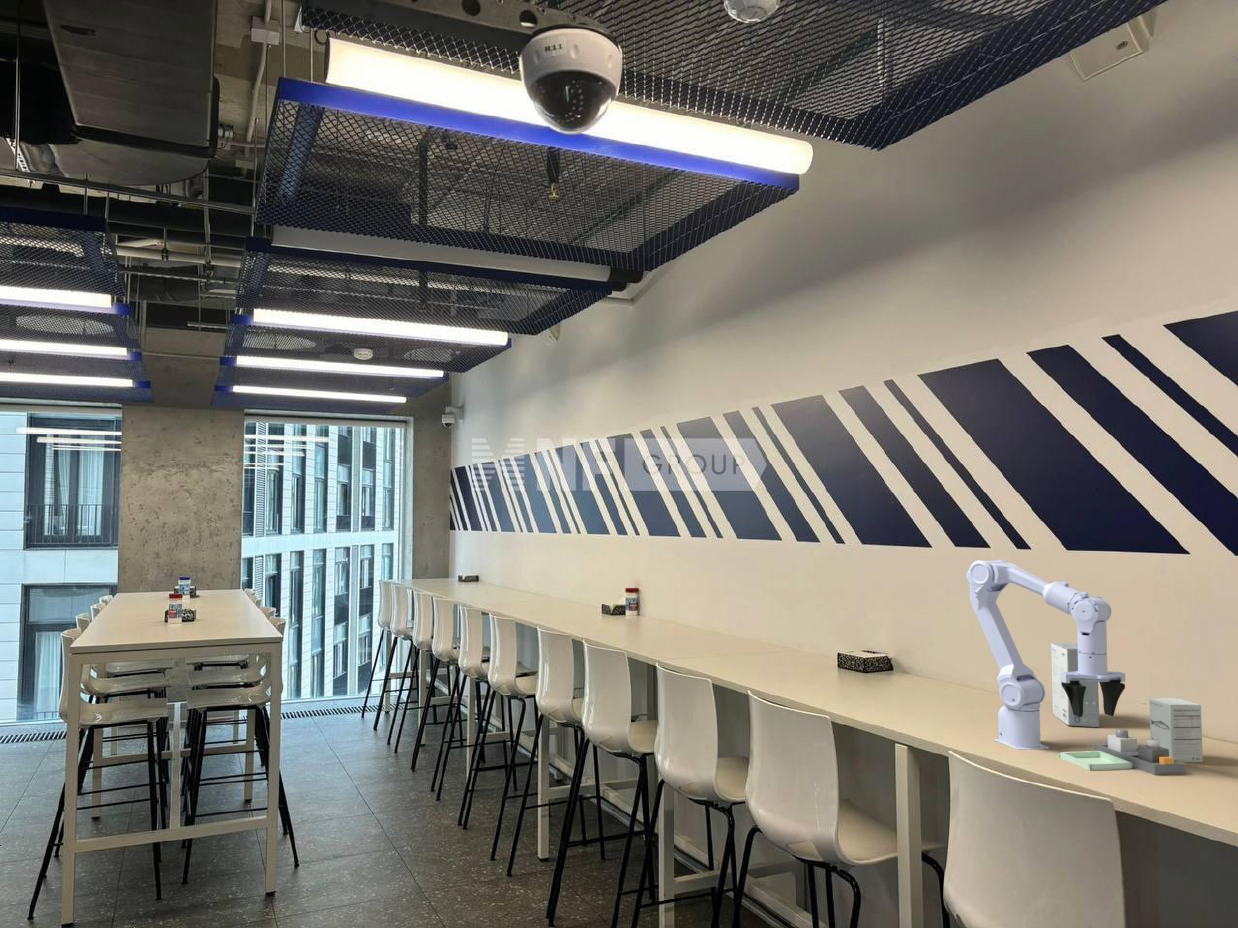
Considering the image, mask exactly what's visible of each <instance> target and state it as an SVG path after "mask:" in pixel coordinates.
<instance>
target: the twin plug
mask: <svg viewBox="0 0 1238 928" xmlns="http://www.w3.org/2000/svg"><path fill="white" fill-rule="evenodd" d="M1107 743H1108V748H1110V749H1113V750H1116V751H1119V752H1133V751H1137V748H1138V739H1137V738H1136V737H1133V736H1129V730H1128V729H1125V728H1116V729H1115V734H1108V735H1107Z"/></svg>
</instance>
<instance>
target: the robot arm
mask: <svg viewBox="0 0 1238 928" xmlns="http://www.w3.org/2000/svg"><path fill="white" fill-rule="evenodd" d="M965 576H966V580H967V581H968V584H969V601H970V602H969V603H970V604H971V607H972V609H973V611H974V613H975V616H976V618H977V620H978V623H979V625H980V627H981V629H982V631H983V634H984V636H985V639H986V641H987V643H988V647H989V648H990V650H991V652H992V655H993V657H994V660H995V661H996V664H997V666H998V669H999V672H998V675H997V677H996V682H997V684H998V687H999V688H998V689H999V690H998V691H999V692H998V693H999V697H1000V700H1001V701H1002V703H1003V704H1004V705H1003V706H1001V707H1000V709H999V710H998V713H997V726H998V729H997V730H998V738H995V739H994V741H995V742H997V743H1001V744H1003V745H1007V746H1009V747H1010V748H1012V749H1013V748H1014V749H1016V750H1019V751H1020V750H1042V749H1043V750H1045V749H1047V750H1048V749H1050V748H1049V747H1048V746H1046V745H1044V744H1042V743H1041V713H1040V710H1041V709H1040V708H1041V703H1042V702H1043V701H1044V700H1045V697H1046V689H1045V686H1044V684H1043V683H1042V682H1041V680H1039V679H1038V678H1037V677H1036V675H1035V673H1034V670H1032V668H1030V667H1028V666H1027V665H1026V664H1025V663H1024V662H1023V659H1022V656H1020V654H1019V653H1020V652H1019V650H1018V649H1017V647H1016V644H1015V641H1014V639H1013V637H1012V635H1011V633H1010V631H1009V629H1008V627H1007V624H1006V622H1005V620H1004V617H1003V615H1002V612H1001V610H1000V608H999V605H998V603H997V600H998V598H999V596H1000V594H1001V593H1002V591H1004V589H1005V588H1007V586H1008V585H1009V584H1013V585H1016V586H1019V587H1021V588H1023V589H1026V590H1028V591H1030V592H1033V593H1035V594H1037V595H1040V596H1042V597H1043V599H1044V602H1045V603H1046V604H1047V605H1048V606H1051V607H1053V608H1055V609H1057V610H1059V611H1061V612H1063V613H1064V614H1067V615H1070V616H1071V617H1072V619H1073V620H1074V621H1075V623H1076V631H1077V633H1076V634H1077V635H1076V636H1077V640H1076V641H1077V643H1078V671H1074V672H1066V673H1060V682H1061V685H1062V687H1063V688H1064V690H1065V692H1066V694H1067V696H1068V698H1069V701H1070V704H1071V707H1072V711H1073V715H1075V716H1078V717H1082V716H1083V699H1084V694H1085V690H1086V687H1085V686H1082V685H1081V684H1080V682H1098V684H1099V686H1100V689H1101V693H1102V700H1103V701H1102V702H1103V703H1102V705H1103V706H1102V707H1103V713H1104V715H1108V716H1111V717H1114V715H1115V711H1116V708H1117V706H1118V705H1117V704H1118V702H1119V699H1120V697H1121V695H1122V694H1123V692H1124V691H1125V689H1126V683H1125V682H1126V673H1125V672H1122V671H1108V645H1107V644H1108V639H1107V638H1108V636H1107V635H1108V633H1107V632H1108V631H1107V621H1109V619H1110V618H1111V616H1112V615H1111V614H1112V608H1111V606H1110V604H1109V603H1108V601H1107V600H1105V599H1104V598H1102V597H1101V596H1092V597H1090V595H1089V592H1086V591H1079V590H1077V589H1075V588H1073V587H1071V586H1069V584H1070V583H1069V582H1066V581H1054V582H1051V583H1050V582H1049V581H1046V580H1044V579H1042V578H1040V577H1039V576H1037V575H1034V574H1033V573H1031V572H1029V571H1027V570H1025V569H1023V568H1022V567H1019V566H1017V565H1016V564H1015V563H1011V562H1008V561H1006V560H1004V559H996V560H981V559H980V560H979V559H978V560H976V561H973V562H972V564H970V566H969V569H968V570H967V573H966V575H965Z"/></svg>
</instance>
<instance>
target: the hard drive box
mask: <svg viewBox="0 0 1238 928" xmlns="http://www.w3.org/2000/svg"><path fill="white" fill-rule="evenodd" d="M1050 649H1051V650H1050V654H1051V656H1050V657H1051V660H1050V662H1051V693H1052V694H1051V697H1052V715H1054V716H1055V717H1056V718H1058V719H1059V720H1060V721H1061V722H1063V723H1064V724H1065V725H1067V726H1071V727H1072V726H1073V727H1089V728H1090V727H1091V728H1100V705H1099V704H1100V703H1099V702H1100V701H1099V700H1100V699H1099V697H1100V696H1099V682H1080V684H1081V685H1082V686H1085V687H1086V690H1085V694H1084V699H1083V716H1082V717H1078V716H1075V715H1073V711H1072V707H1071V704H1070V701H1069V698H1068V696H1067V694H1066V692H1065V690H1064V688H1063V687H1062V685H1061V682H1060V673H1066V672H1074V671H1078V642H1065V641H1064V642H1063V641H1062V642H1061V641H1051V643H1050Z"/></svg>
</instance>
